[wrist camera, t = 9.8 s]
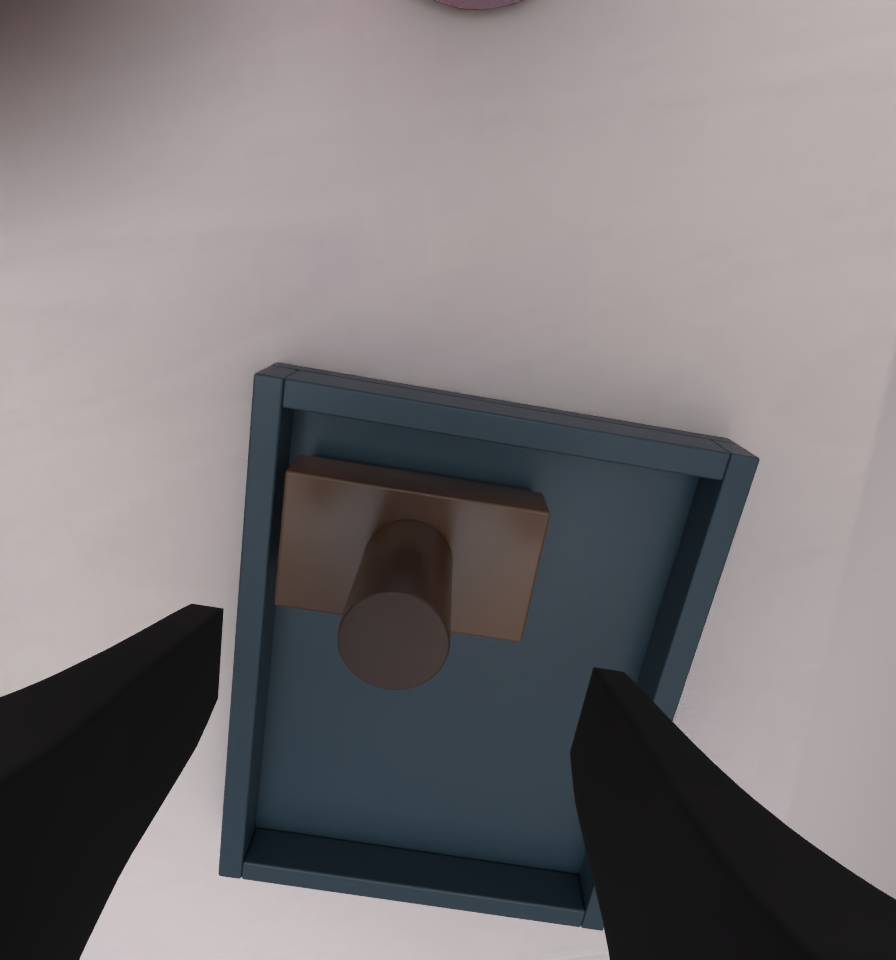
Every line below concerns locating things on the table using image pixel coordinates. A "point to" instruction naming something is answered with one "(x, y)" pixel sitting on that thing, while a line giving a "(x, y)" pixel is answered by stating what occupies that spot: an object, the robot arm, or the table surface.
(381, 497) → the wooden stamp
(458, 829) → the tray
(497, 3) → the beverage can
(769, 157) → the table surface
